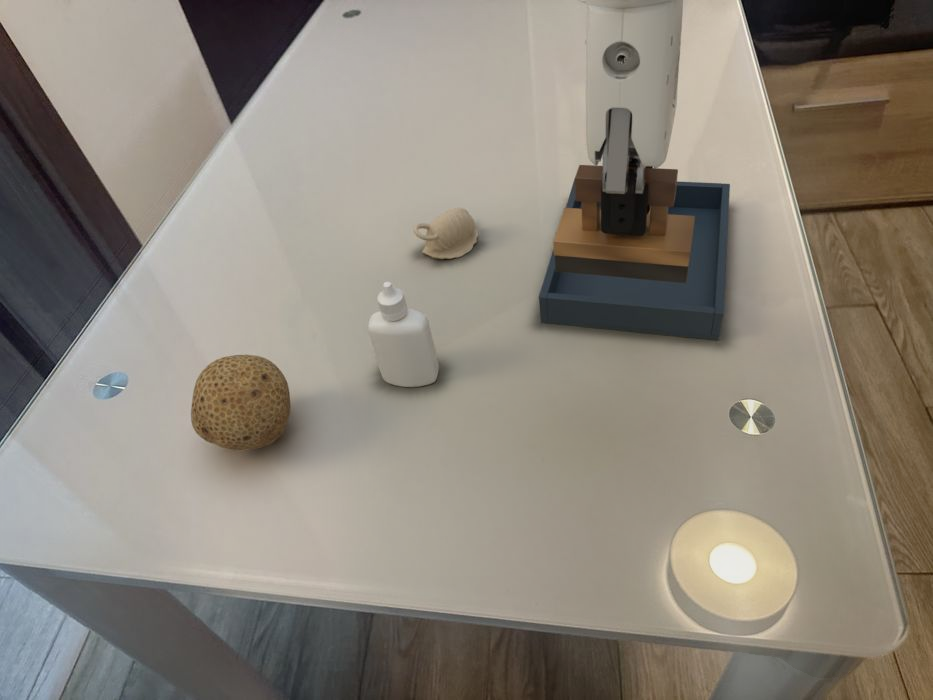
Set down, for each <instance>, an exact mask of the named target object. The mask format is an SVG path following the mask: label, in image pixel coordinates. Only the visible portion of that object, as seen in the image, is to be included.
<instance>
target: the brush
mask: <svg viewBox="0 0 933 700" xmlns="http://www.w3.org/2000/svg"><path fill="white" fill-rule="evenodd" d="M629 169H635V173H636V167H629ZM678 174H679V169H677V168H660V167H658V168H654V167H653V168H645V184H644V186H649V187H648V204H647V205H649V206H651V209H650V213H648V214H647V220H646V231H645V234H644V235H643V236H631V235H617V234H605V233H603V232H602V231H601V210H600V203H601V186H602V181H603V165H594V164H593V165H592V164H579V165H578V168H577V171H576V173H575V176H574V179H575V200H576V201H582V209H576V208H566V207H564V209H563V211H562V213H561V214H562V215H561V216H560V220H559V223H558V226H557V229H556V232H555V235H554V238H553V241H552V243H553V244H552V245H553V246H552V247H553V248H554V255H555V271H556V272H566V273H577V274H588V275H599V276H610V277H621V278H632V279H643V280H654V281H665V282H676V283H686V282H687V275H688V268H689V260H690V253H691V245H692V237H693V229H694V221H695V216H686V215H670V214H668V209H669V207H673V206H674V201H675V195H676V186H677V181H678V176H679V175H678Z"/></svg>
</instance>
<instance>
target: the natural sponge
mask: <svg viewBox="0 0 933 700" xmlns="http://www.w3.org/2000/svg"><path fill="white" fill-rule="evenodd" d="M194 383H195V384H194V387H193V393H192V399H191V409H190V421H191V422H190V423H191V427H192V428H193V430H194V432H195V433H196V435H198V436H199V437H200V438H201V439H202V440H203V441H206V442H207V443H209V444H213V445H215V446H217V447H220V448H222V449H225V450H226V449H227V450H232V451H239V452H240V451H241V452H242V451H248V450H254V449H255V450H256V449H261V448H265V447H266V446H269V445H271V444H273V443H274V442H275V441H276V440H278V439H279V438H280V437H281V436H282V435H283V433H284V432H285V431H286V428H287V426H288V423H289V418H290V415H291V405H292V404H291V393H290V388H289V384H288V381H287V379H286V377H285V374H284V373H283V372H282V370H281V369H280V368H279V367H278V366H277V365H276V364H275V363H273V361H271V360H269V359H268V358H265V357H263V356H260V355H253V354H235V355H229V356H223V357H220V358H218V359H216V360H213V361H212V362H210V363H209V364H207V366H206V367H205V368H204V369H202V371H201V372H200V373H199V375H198V376H197V378H196V381H195V382H194Z"/></svg>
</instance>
